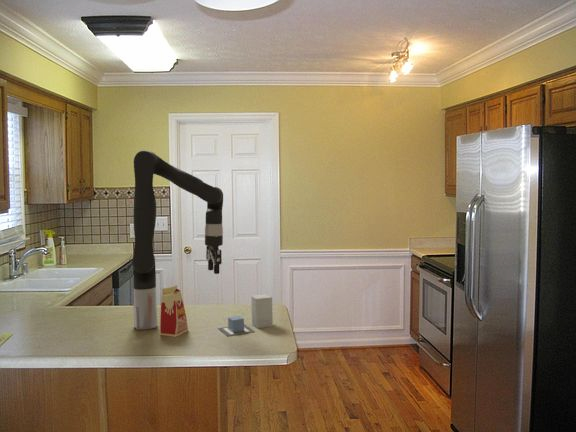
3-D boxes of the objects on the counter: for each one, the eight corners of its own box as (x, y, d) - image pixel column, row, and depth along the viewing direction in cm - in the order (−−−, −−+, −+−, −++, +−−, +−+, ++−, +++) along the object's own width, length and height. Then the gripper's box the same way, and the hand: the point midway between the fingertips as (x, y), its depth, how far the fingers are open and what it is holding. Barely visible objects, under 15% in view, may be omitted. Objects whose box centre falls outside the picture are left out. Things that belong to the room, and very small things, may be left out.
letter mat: (227, 336, 209) (227, 335, 209) (217, 328, 219) (217, 328, 219) (255, 331, 214) (255, 331, 214) (244, 324, 225) (244, 324, 225)
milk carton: (188, 330, 218) (186, 283, 216) (176, 337, 209) (175, 288, 208) (169, 328, 221) (167, 282, 219) (157, 335, 212) (155, 286, 211)
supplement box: (273, 326, 221) (272, 297, 220) (256, 328, 219) (255, 299, 218) (267, 321, 228) (267, 293, 227) (251, 323, 226) (250, 295, 225)
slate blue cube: (232, 332, 213) (232, 320, 213) (228, 329, 218) (228, 317, 217) (244, 330, 216) (243, 318, 215) (239, 327, 220) (239, 315, 220)
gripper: (200, 232, 226) (200, 269, 227) (210, 236, 213) (209, 275, 214) (217, 232, 229) (217, 268, 230) (227, 235, 216) (227, 274, 217)
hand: (213, 271), depth 222 cm, fingers open, 8 cm apart
